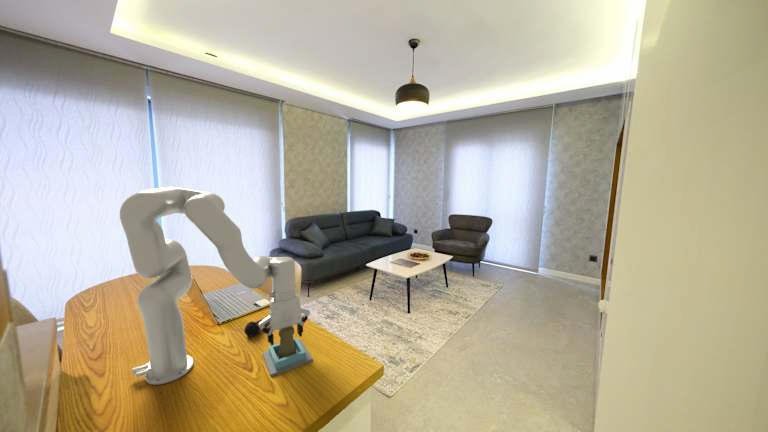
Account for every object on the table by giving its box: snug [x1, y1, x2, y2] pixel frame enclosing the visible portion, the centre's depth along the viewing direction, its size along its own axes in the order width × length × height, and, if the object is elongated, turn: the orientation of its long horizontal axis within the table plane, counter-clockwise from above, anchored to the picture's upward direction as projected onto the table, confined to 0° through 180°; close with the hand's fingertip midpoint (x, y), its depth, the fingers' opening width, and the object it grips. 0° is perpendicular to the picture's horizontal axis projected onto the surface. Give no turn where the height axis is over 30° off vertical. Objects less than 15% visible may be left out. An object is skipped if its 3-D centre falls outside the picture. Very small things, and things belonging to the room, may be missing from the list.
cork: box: [278, 325, 296, 359], centre depth 98 cm, size 6×6×11 cm
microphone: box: [243, 315, 270, 337], centre depth 119 cm, size 6×6×20 cm
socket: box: [262, 337, 314, 378], centre depth 99 cm, size 14×13×3 cm
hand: (286, 338), depth 98 cm, fingers open, 9 cm apart
